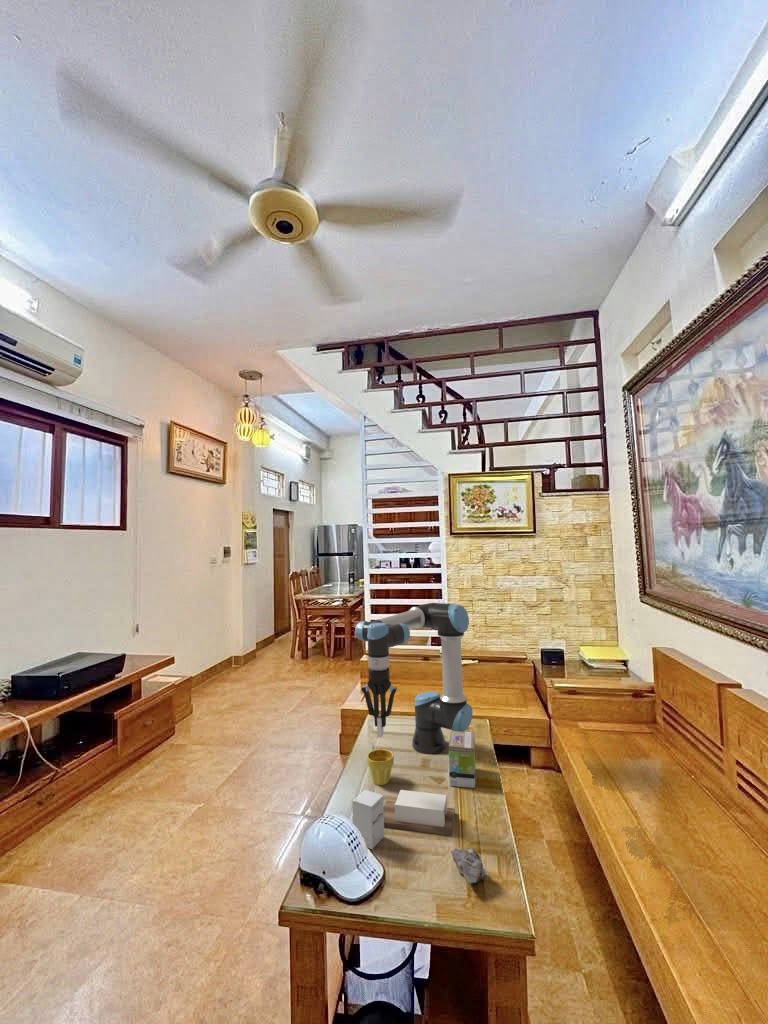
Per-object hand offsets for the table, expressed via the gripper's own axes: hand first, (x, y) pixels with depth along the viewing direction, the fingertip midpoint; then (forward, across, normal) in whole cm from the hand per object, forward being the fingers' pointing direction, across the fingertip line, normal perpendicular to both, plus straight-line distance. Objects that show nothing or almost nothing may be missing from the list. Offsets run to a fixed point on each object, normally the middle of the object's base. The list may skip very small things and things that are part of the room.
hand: (380, 735), depth 155 cm
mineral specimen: (+25, +31, -27) cm, 48 cm away
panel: (+23, +14, -4) cm, 27 cm away
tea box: (+25, +26, +26) cm, 44 cm away
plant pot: (+25, -5, +17) cm, 30 cm away
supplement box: (+25, 0, -17) cm, 30 cm away
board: (+24, +13, -4) cm, 28 cm away
